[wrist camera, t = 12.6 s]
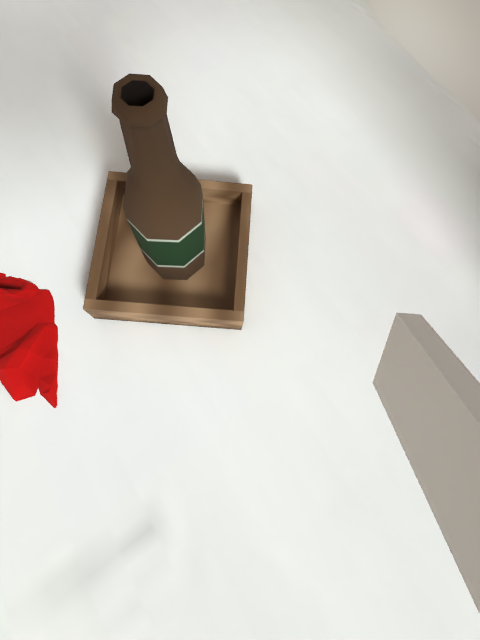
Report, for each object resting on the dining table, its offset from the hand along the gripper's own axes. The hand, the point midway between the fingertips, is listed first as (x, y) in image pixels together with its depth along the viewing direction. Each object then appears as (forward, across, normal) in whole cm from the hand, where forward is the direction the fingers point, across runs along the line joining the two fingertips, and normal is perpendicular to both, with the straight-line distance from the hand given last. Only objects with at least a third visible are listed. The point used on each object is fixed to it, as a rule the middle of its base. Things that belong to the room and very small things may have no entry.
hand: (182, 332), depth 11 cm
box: (+35, -6, -11) cm, 37 cm away
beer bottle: (+34, -6, -10) cm, 36 cm away
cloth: (+28, -26, -19) cm, 43 cm away
